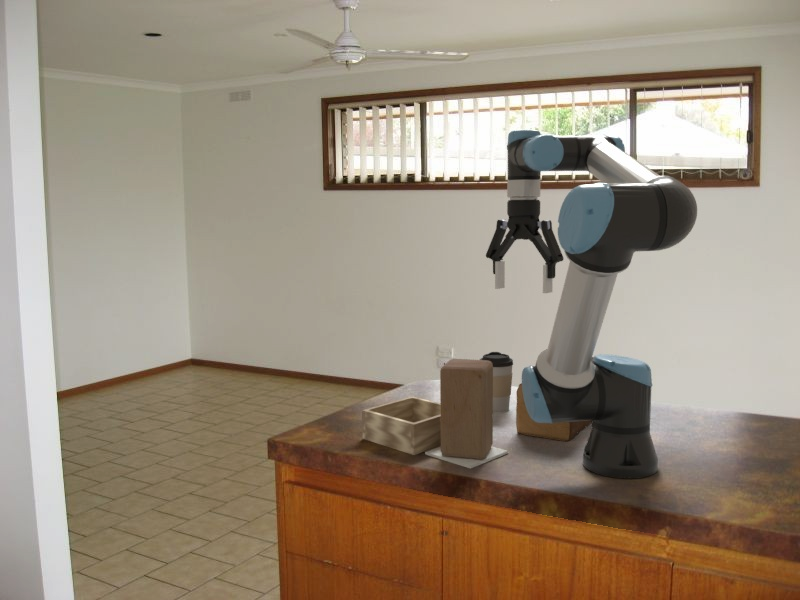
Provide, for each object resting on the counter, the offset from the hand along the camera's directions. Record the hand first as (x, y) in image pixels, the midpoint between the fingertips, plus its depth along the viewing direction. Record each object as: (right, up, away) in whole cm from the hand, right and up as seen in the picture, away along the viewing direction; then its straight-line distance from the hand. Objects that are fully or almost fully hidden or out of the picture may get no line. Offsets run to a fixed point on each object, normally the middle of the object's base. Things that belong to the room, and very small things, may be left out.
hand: (523, 290), depth 177 cm
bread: (+13, -33, +16) cm, 39 cm away
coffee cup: (-3, -32, +26) cm, 41 cm away
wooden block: (-14, -36, -9) cm, 40 cm away
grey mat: (-14, -36, -9) cm, 40 cm away
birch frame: (-26, -35, +3) cm, 43 cm away
